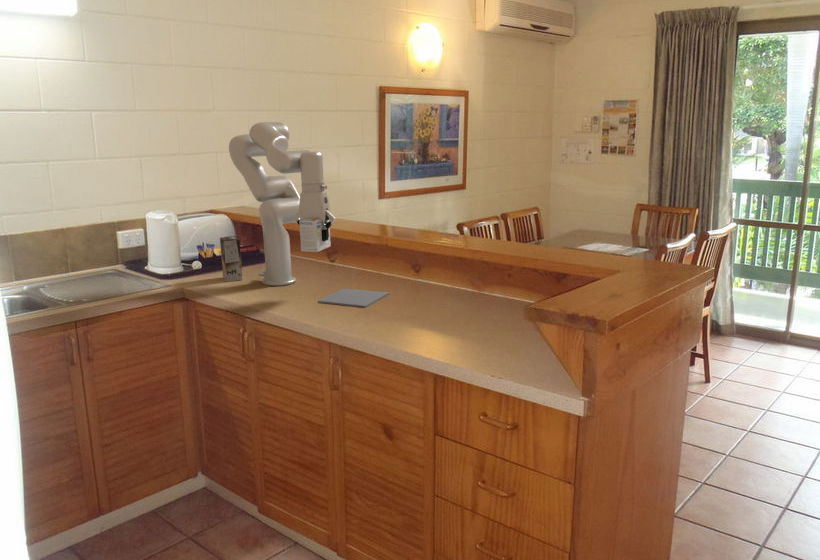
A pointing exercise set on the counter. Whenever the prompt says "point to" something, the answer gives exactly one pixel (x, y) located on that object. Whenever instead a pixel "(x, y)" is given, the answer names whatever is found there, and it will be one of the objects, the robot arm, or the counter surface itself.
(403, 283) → the counter surface
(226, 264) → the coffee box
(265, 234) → the robot arm
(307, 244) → the light bulb box
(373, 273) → the counter surface
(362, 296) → the mat
